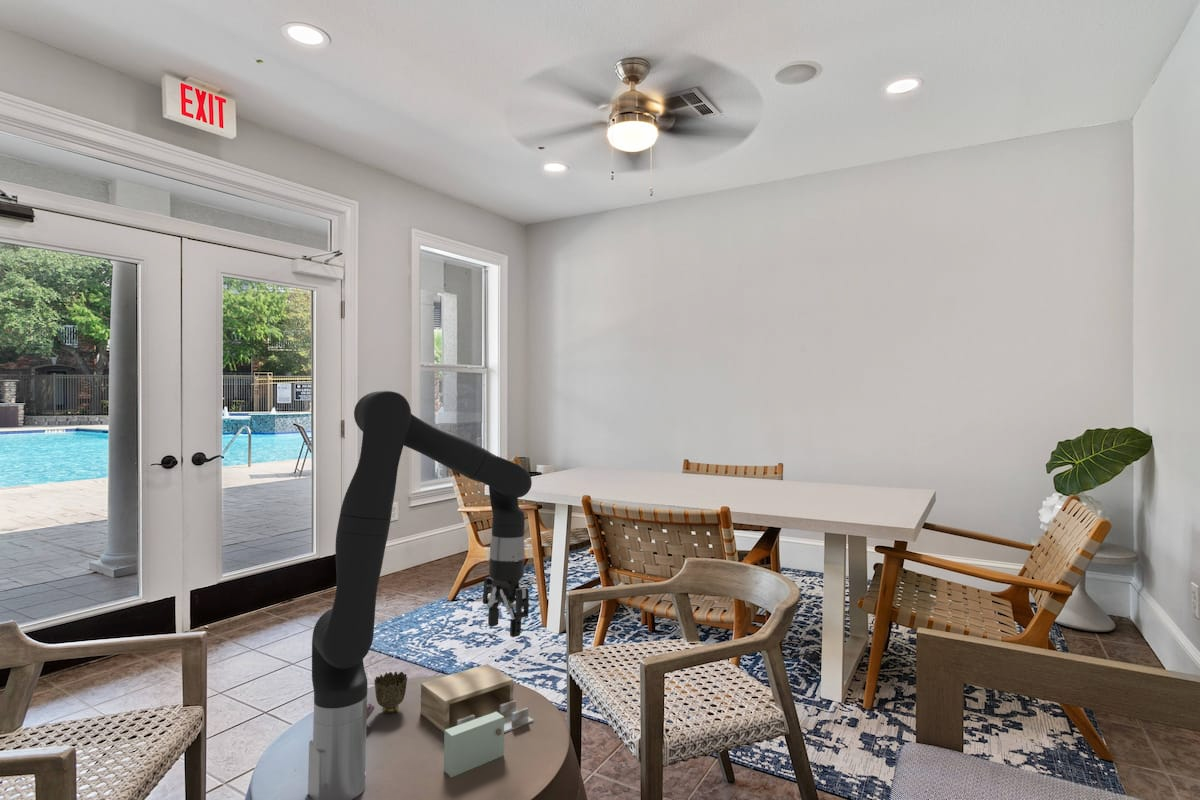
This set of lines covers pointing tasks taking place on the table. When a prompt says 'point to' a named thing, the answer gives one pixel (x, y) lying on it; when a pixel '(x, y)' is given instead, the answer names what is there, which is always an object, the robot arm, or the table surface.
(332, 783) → the robot arm
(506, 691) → the cabinet
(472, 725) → the door
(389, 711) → the cup
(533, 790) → the table surface
